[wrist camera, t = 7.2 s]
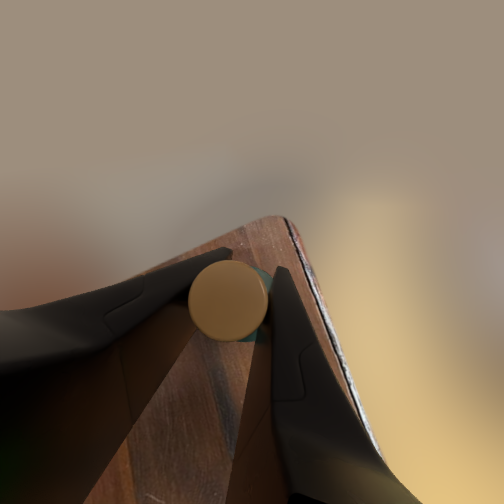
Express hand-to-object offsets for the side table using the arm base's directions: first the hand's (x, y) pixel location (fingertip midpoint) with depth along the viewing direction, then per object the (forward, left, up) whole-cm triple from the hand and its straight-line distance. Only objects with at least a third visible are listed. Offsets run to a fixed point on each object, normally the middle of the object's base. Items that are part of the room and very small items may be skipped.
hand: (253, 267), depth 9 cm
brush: (-1, +1, -8) cm, 8 cm away
